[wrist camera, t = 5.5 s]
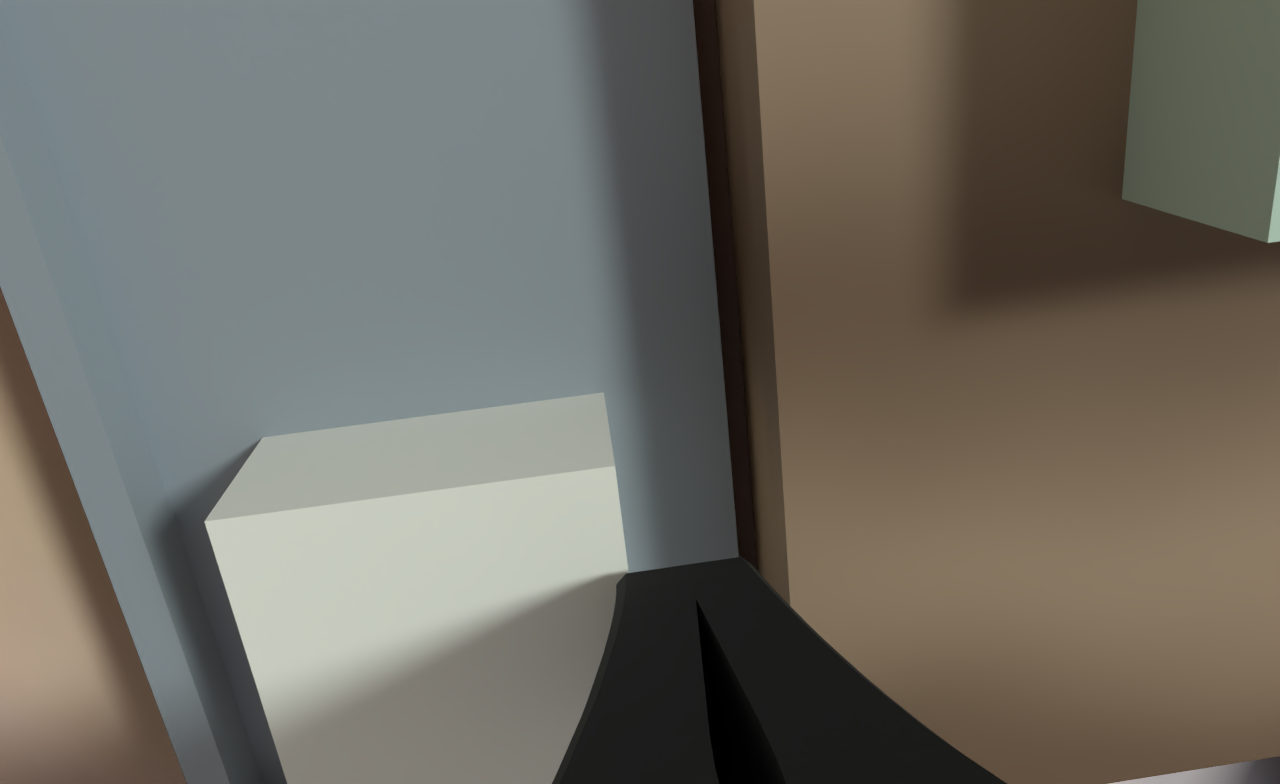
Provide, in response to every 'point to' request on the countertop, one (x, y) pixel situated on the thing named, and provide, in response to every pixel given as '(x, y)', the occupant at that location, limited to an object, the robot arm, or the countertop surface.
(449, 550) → the cream tile
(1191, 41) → the green tile
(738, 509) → the countertop surface
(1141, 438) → the walnut board
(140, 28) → the tray
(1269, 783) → the countertop surface
